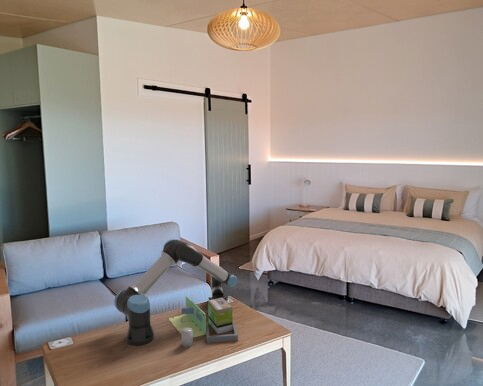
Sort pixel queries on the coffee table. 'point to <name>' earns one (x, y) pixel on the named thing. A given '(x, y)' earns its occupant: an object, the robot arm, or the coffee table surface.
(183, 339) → the grey rounded cylinder
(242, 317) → the coffee table surface
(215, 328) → the tea box
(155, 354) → the coffee table surface
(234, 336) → the frame
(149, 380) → the coffee table surface
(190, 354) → the coffee table surface
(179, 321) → the display stand
